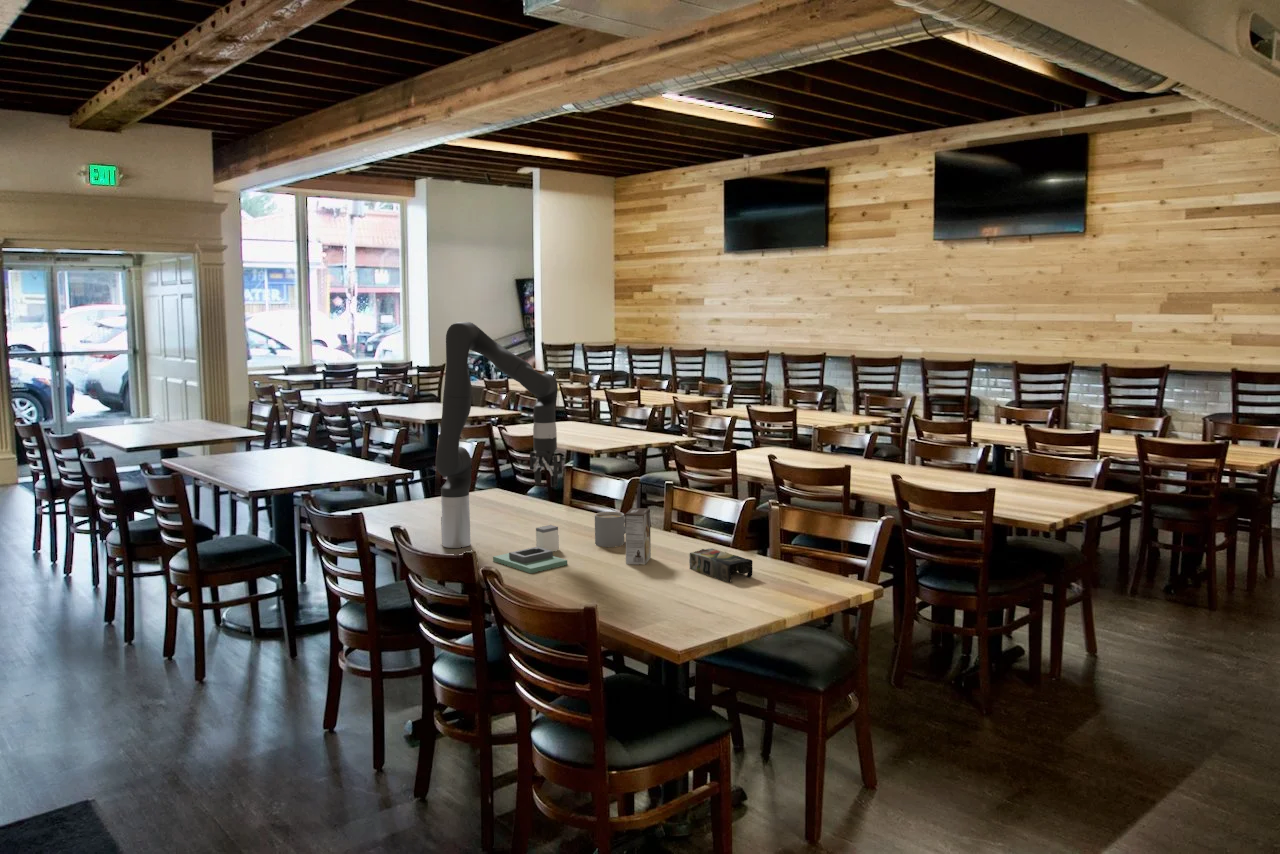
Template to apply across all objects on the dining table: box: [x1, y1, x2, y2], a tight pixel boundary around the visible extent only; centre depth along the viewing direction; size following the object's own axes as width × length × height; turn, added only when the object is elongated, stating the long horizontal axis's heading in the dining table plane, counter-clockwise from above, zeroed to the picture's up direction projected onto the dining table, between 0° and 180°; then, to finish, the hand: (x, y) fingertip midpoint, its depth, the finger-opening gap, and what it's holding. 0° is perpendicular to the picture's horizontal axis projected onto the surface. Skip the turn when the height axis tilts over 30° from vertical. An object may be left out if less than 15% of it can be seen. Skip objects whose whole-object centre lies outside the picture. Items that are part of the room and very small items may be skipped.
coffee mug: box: [594, 511, 626, 548], centre depth 330 cm, size 13×10×10 cm
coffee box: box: [624, 507, 652, 566], centre depth 306 cm, size 9×6×16 cm
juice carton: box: [688, 547, 754, 584], centre depth 292 cm, size 20×10×6 cm, turn 35°
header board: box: [492, 546, 568, 574], centre depth 305 cm, size 20×14×4 cm
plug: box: [535, 524, 560, 552], centre depth 320 cm, size 4×7×8 cm, turn 133°
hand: (546, 485), depth 317 cm, fingers open, 8 cm apart
